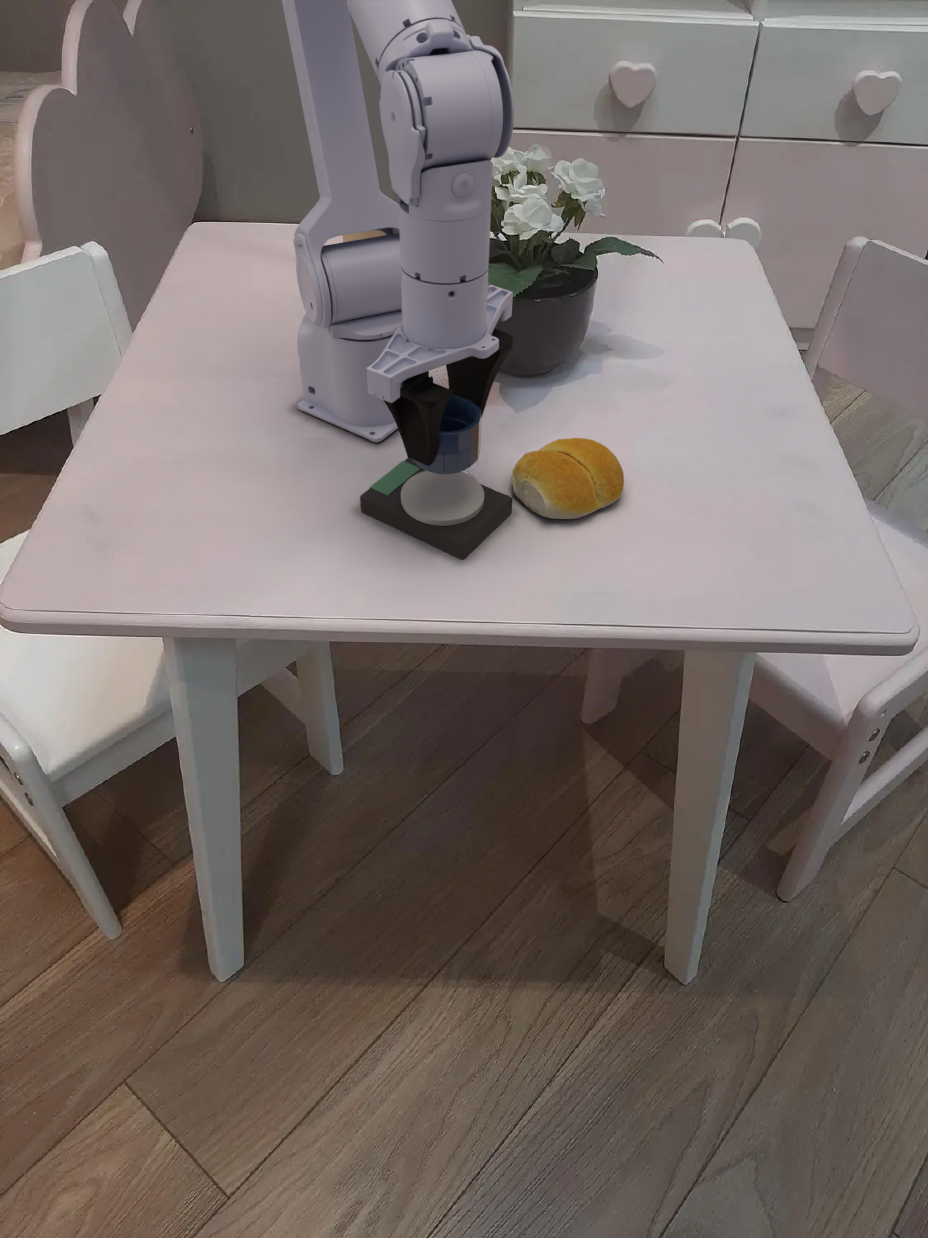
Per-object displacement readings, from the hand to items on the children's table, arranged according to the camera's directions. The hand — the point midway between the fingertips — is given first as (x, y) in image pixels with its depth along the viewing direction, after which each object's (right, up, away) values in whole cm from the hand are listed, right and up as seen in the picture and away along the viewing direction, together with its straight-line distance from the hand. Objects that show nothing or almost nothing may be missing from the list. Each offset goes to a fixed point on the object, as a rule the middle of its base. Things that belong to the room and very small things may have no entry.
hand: (443, 440), depth 70 cm
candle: (-9, +23, +32) cm, 40 cm away
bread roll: (+10, -3, +8) cm, 13 cm away
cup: (0, -1, +1) cm, 1 cm away
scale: (-1, -5, +5) cm, 7 cm away
